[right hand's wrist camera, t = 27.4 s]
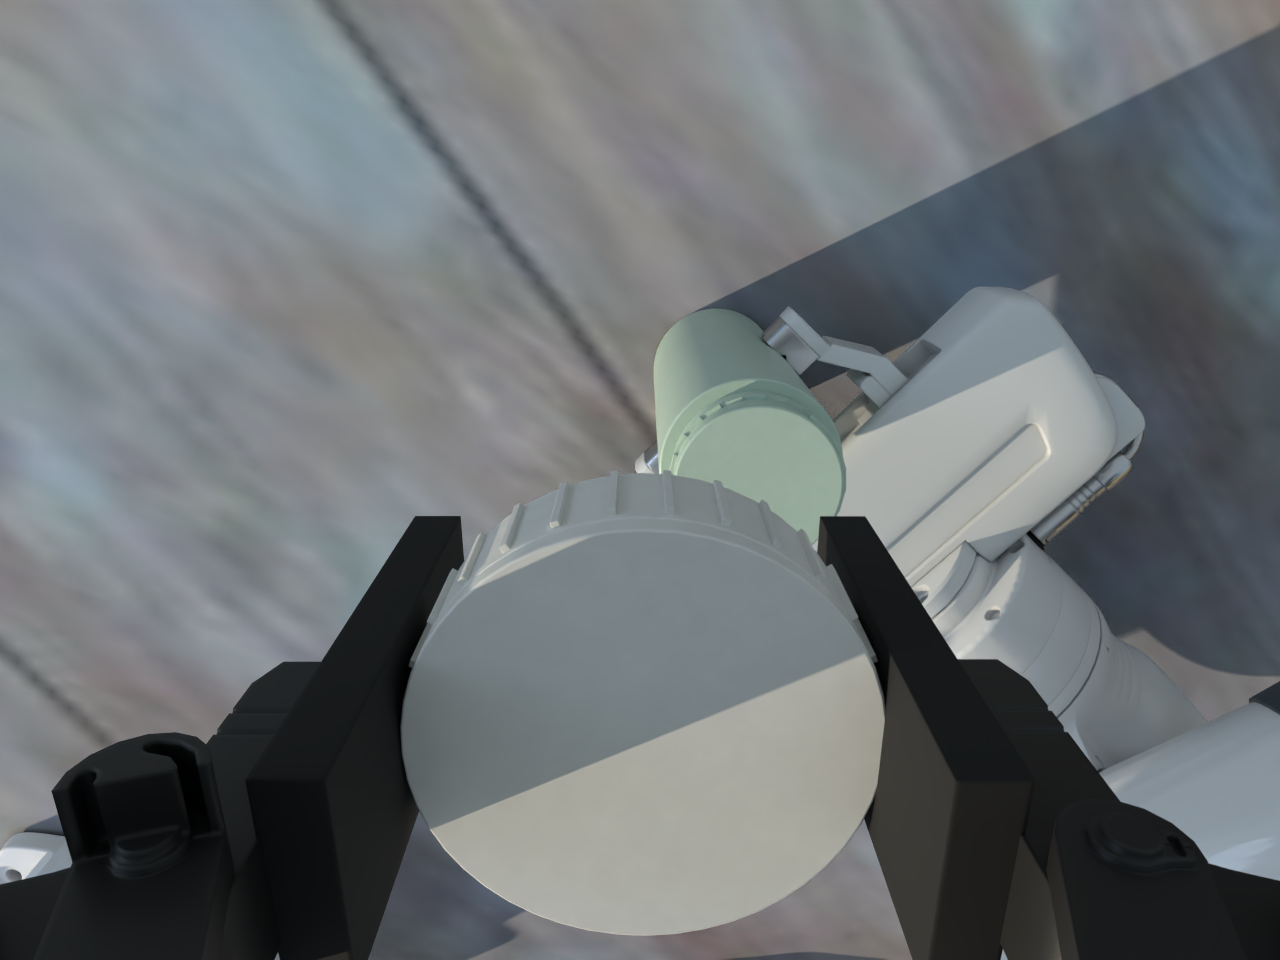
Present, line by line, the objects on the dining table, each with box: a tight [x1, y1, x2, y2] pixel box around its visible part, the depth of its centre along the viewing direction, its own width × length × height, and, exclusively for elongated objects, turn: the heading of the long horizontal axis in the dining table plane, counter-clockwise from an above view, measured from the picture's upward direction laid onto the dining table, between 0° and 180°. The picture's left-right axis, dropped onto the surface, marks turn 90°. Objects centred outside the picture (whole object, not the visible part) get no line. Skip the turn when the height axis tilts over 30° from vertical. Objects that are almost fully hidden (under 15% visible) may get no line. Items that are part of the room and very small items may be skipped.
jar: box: [654, 309, 846, 545], centre depth 30 cm, size 5×5×15 cm
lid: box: [400, 470, 885, 936], centre depth 11 cm, size 6×6×2 cm
